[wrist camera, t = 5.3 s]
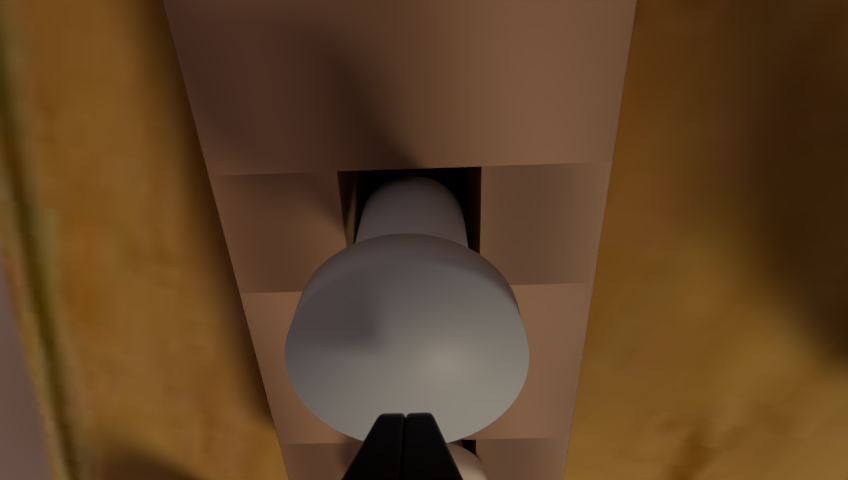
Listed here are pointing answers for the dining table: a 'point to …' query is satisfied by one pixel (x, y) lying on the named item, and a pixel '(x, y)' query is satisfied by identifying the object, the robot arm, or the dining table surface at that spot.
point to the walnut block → (412, 149)
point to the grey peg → (408, 321)
